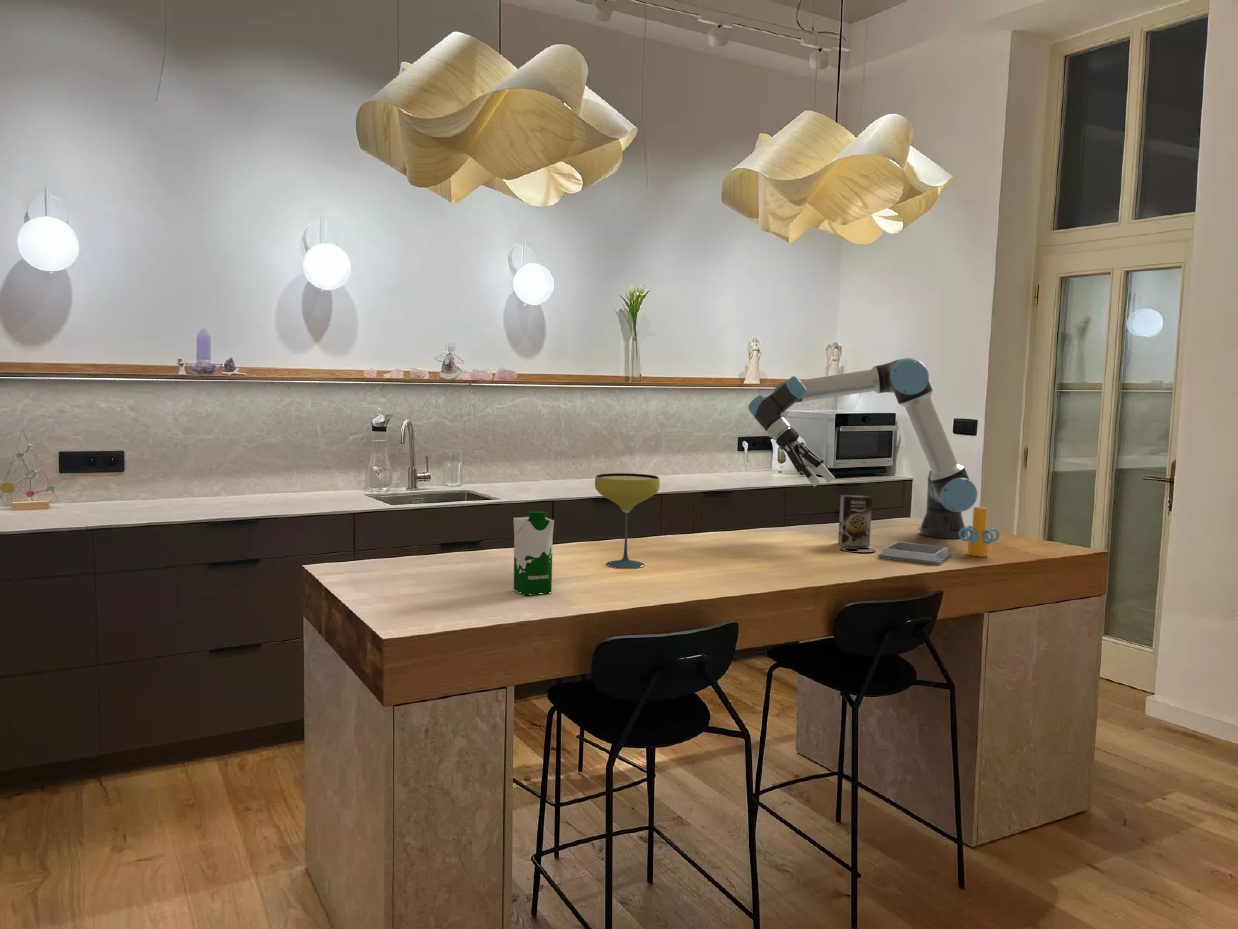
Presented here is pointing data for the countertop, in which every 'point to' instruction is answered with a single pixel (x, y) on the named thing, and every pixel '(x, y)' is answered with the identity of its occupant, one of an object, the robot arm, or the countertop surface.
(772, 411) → the robot arm
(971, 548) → the yellow upright post
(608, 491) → the cocktail glass
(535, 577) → the milk carton
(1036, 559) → the countertop surface
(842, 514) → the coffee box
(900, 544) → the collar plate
